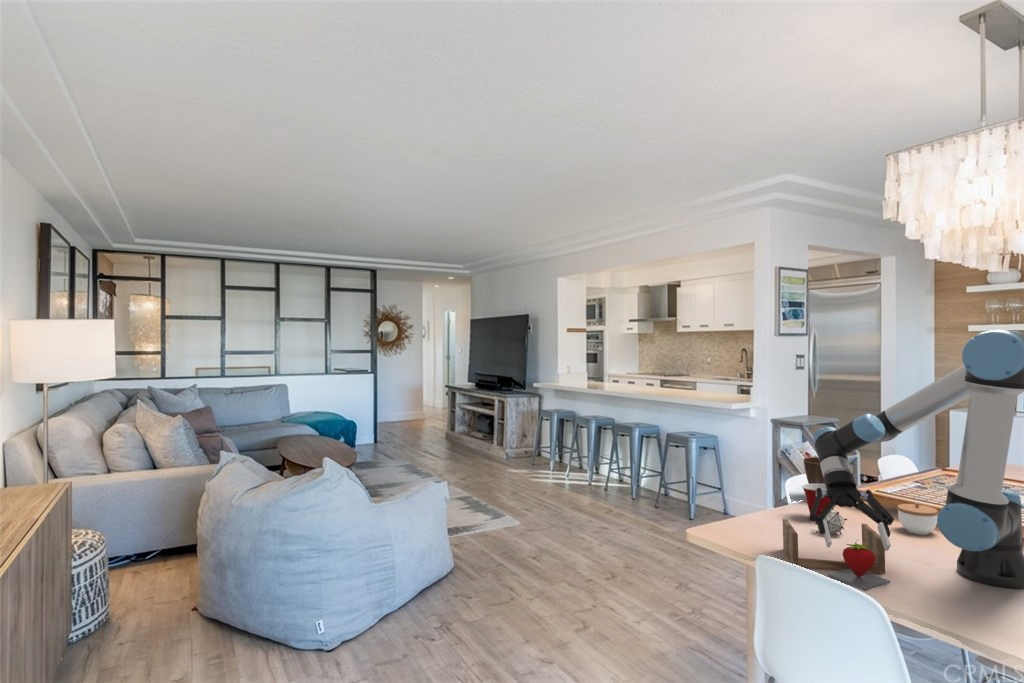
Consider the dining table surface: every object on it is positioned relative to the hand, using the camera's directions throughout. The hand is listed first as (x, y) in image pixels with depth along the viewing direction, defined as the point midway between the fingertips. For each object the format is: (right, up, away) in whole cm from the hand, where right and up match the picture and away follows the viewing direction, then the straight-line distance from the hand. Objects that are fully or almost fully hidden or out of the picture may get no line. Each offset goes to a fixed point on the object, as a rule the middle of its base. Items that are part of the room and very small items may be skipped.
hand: (858, 546), depth 146 cm
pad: (0, -9, 0) cm, 9 cm away
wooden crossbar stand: (+1, -9, +14) cm, 16 cm away
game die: (+14, -9, +37) cm, 40 cm away
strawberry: (0, -8, 0) cm, 8 cm away
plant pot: (+34, -10, +75) cm, 83 cm away
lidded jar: (+43, -9, +37) cm, 57 cm away
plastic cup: (+19, -10, +52) cm, 56 cm away
